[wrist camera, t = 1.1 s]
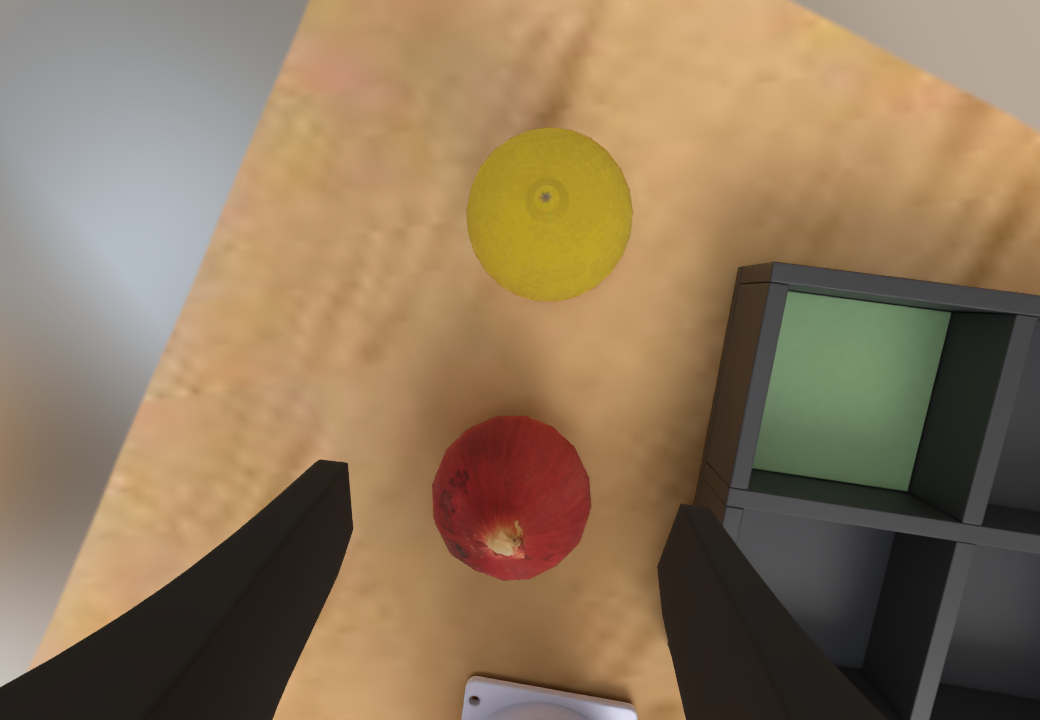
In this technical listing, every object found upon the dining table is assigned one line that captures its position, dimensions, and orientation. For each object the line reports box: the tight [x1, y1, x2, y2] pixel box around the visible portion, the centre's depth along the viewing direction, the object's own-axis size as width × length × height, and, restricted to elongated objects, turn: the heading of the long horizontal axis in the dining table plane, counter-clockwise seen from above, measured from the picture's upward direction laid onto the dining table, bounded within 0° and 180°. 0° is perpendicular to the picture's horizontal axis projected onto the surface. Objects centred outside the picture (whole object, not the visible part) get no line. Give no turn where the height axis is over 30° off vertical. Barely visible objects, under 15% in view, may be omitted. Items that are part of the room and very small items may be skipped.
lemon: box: [467, 127, 633, 301], centre depth 17 cm, size 6×6×8 cm
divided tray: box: [668, 262, 1040, 720], centre depth 20 cm, size 17×17×4 cm
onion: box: [432, 416, 591, 580], centre depth 19 cm, size 6×6×8 cm
